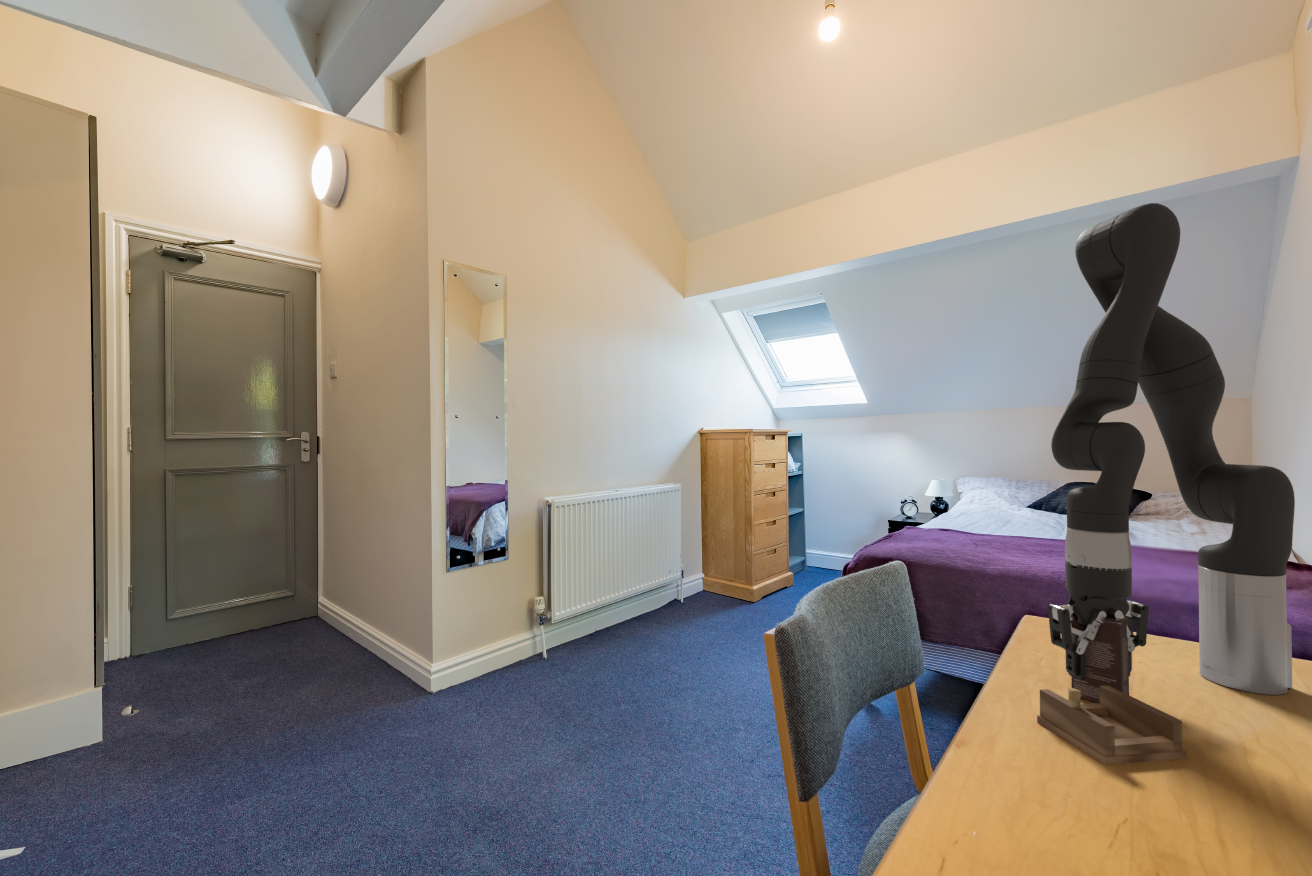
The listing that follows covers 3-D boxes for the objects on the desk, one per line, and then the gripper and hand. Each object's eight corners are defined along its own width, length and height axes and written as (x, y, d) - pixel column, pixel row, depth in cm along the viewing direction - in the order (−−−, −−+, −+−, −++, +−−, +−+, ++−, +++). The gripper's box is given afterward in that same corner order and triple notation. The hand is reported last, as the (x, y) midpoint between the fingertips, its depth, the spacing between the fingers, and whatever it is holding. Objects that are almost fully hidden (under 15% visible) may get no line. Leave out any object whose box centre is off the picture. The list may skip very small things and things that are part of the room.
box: (1130, 701, 79) (1129, 616, 79) (1122, 711, 76) (1121, 623, 76) (1078, 687, 83) (1077, 607, 83) (1069, 696, 80) (1068, 613, 80)
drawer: (1108, 717, 74) (1107, 669, 74) (1186, 760, 64) (1185, 704, 64) (1037, 723, 73) (1036, 673, 73) (1105, 766, 63) (1104, 709, 63)
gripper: (1117, 553, 84) (1119, 663, 84) (1031, 556, 83) (1032, 668, 83) (1168, 564, 77) (1170, 685, 77) (1074, 568, 75) (1075, 691, 75)
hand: (1098, 676), depth 80 cm, fingers closed on box, 6 cm apart
